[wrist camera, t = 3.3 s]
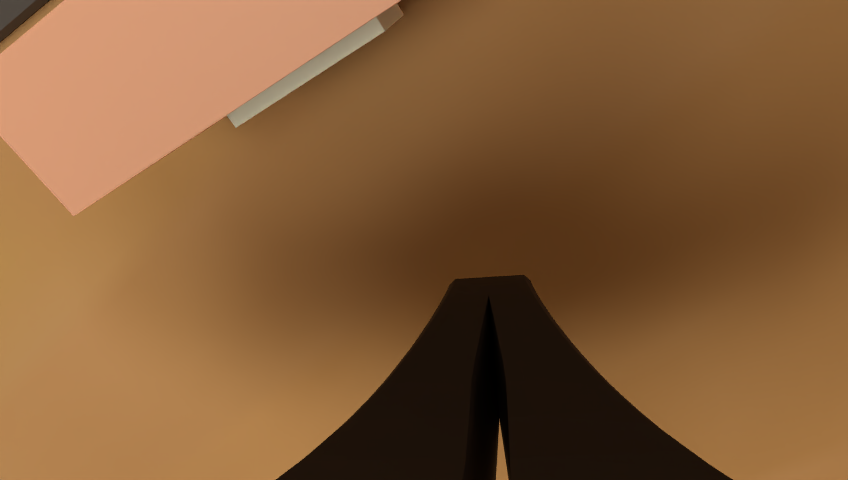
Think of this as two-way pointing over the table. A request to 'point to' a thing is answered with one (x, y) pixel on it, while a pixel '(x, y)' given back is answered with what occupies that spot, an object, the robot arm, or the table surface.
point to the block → (160, 78)
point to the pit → (16, 14)
